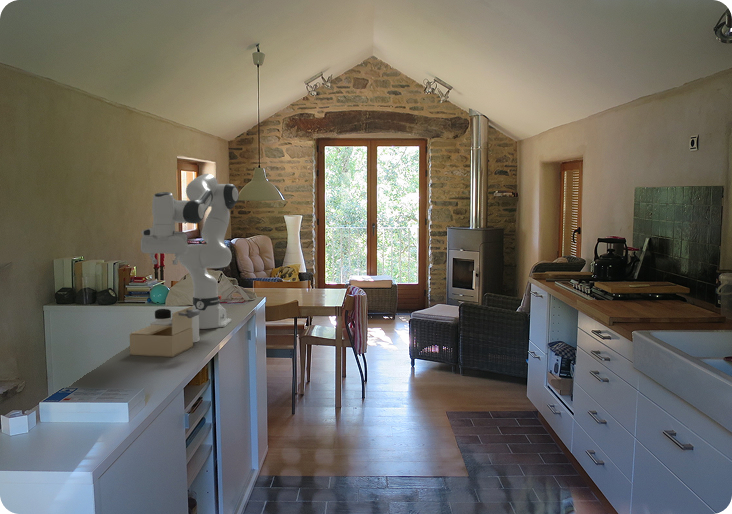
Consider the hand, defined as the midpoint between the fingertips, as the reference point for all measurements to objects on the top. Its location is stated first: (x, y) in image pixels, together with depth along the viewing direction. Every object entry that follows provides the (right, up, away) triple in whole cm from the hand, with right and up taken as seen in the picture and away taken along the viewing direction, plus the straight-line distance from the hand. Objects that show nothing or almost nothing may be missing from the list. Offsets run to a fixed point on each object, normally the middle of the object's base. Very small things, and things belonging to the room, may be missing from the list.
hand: (165, 264), depth 243 cm
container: (-3, -33, +8) cm, 34 cm away
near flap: (+12, -22, -15) cm, 29 cm away
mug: (+9, -33, +3) cm, 35 cm away
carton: (+3, -34, -12) cm, 36 cm away
